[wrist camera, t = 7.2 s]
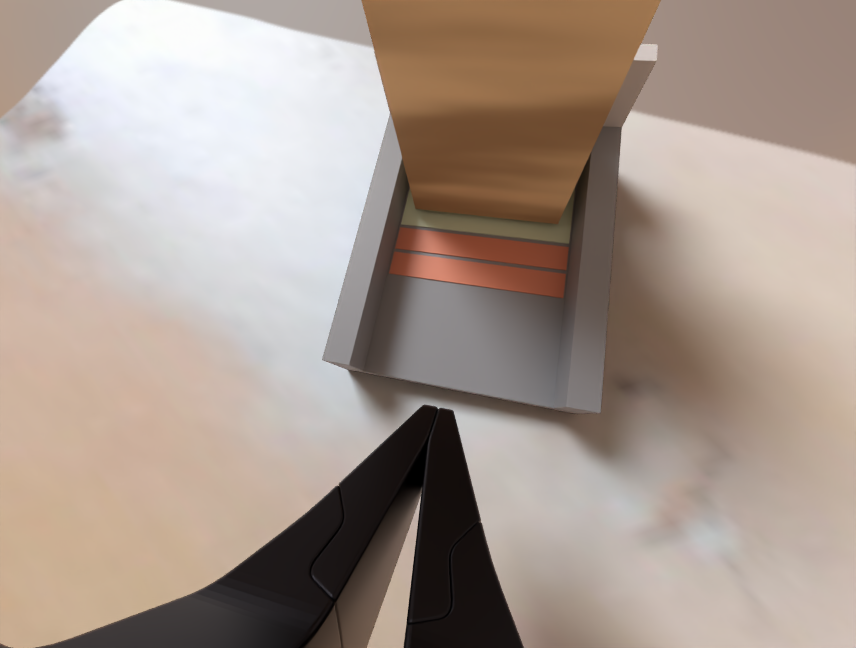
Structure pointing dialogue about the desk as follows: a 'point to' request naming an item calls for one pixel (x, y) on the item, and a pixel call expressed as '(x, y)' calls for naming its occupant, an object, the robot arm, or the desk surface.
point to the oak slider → (502, 95)
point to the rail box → (487, 285)
